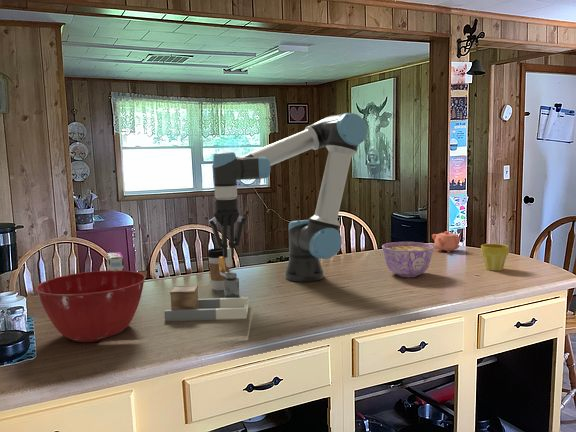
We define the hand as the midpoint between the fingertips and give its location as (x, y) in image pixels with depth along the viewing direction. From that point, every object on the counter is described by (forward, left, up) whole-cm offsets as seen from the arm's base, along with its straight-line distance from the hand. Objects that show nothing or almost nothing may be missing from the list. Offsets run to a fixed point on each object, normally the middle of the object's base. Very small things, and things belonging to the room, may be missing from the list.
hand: (229, 266), depth 174 cm
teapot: (-98, -70, -11) cm, 121 cm away
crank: (0, +4, -3) cm, 5 cm away
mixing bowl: (+35, +32, -11) cm, 49 cm away
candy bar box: (+39, 0, -11) cm, 40 cm away
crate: (+12, +20, -10) cm, 26 cm away
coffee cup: (+5, -13, -11) cm, 18 cm away
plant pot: (-105, -30, -11) cm, 110 cm away
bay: (+5, +20, -11) cm, 24 cm away
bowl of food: (-68, -25, -11) cm, 73 cm away
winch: (-1, +6, -11) cm, 13 cm away
